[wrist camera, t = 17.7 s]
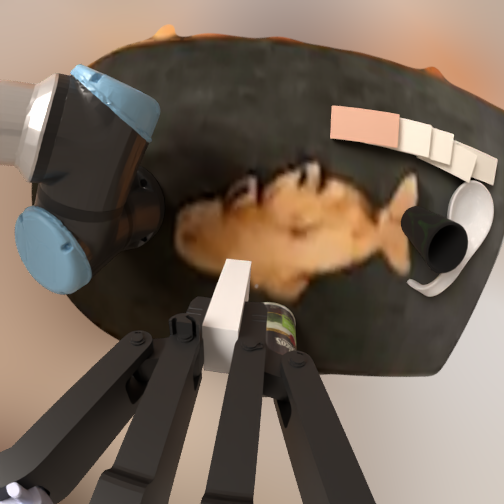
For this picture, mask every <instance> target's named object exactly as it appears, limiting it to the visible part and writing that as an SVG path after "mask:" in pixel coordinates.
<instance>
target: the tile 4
mask: <svg viewBox="0 0 504 504" xmlns="http://www.w3.org/2000/svg"><path fill="white" fill-rule="evenodd" d="M455 144H457V145H459V146H461V147H463V148H465V149H467V150H469V151H470V152H472V153H474V154H476V155H477V159H476V162H475V165H474V169H473V172H472V175H471V177H473V178H475V179H478V180H481V181H483V182H486V183H489V184H491V185H493V183H494V178H495V172H496V166H497V160H498V159H496V158H494V157H491V156H489V155H487V154H485V153H483V152H480V151H478V150H476V149H473V148H471V147H468V146H466V145H464V144H461V143H456V142H455Z"/></svg>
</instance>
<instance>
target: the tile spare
mask: <svg viewBox="0 0 504 504" xmlns="http://www.w3.org/2000/svg"><path fill="white" fill-rule="evenodd" d="M398 133H399V114H393V113H387V112H381V111H375V110H367V109H360V108H351V107H342V106H332V114H331V134H330V138H333V139H342V140H350V141H357V142H364V143H371V144H377V145H383V146H389V147H394V148H397V146H398Z"/></svg>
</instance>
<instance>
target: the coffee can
mask: <svg viewBox="0 0 504 504" xmlns="http://www.w3.org/2000/svg"><path fill="white" fill-rule="evenodd" d="M264 304H265V306H266V307H267V309H268V312H267V328H266V344H267V346H268V347H269V348H270V349H271V350H272V351H274V352H276V353H278V354H281V355H284V354H285V353H287V352H289V351H293V350H294V351H296V330H295V326H296V322H295V318H294V315H293V314H292V312H291V311H290V310H289V309H288V308H286V307H285V306H283V305H281V304H278V303H273V302H264ZM262 397H268V396H265V395H262Z"/></svg>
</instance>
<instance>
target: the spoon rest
mask: <svg viewBox="0 0 504 504" xmlns="http://www.w3.org/2000/svg"><path fill="white" fill-rule="evenodd" d="M493 215H494V206H493V200H492V197H491V195H490V193H489V191H488V190H487V188H486V187H485V186H484V185H483V184H482V183H480V182H478V181H474V180H470V181H469V183H468V182H465V183H463V184H462V185H460V186H459V187H458V188H457V189H456V190H455V192H454V193H453V195H452V197H451V199H450V202H449V206H448V211H447V219H450V220H452V221H454V222H456V223H459V224H460V225H461V226H463V227H464V229H465V230H466V233H467V236H468V248H467V252H466V255H465V257H464V259H463V260H462V262H461V263H460V264H459V265H458V266H457V267H456V268H455V269H454V270H452V271H450V272H447V273H441V274H439V276H438V277H437V278H436V279H435V280H434V281H432V282H431V283H429V284H426V285H421V284H420V283H418V282H417V281H415V280H412V279H409V280H408V281H407V283H408V284H409V285H410V286H411V287H412V288H414V289H416V290H417V291H419V292H421V293H422V294H424V295H425V296H428V297H432V296H435V295H438V294H439V293H441V292H442V291H444V290H445V289H446V288H447V287H448V286H449V285H450V284H451V283H452V282H453V281H454V280H455V279H456V278H457V276H458V275H459V273H460V272H461V270H462V269H463V268H464V266H465V265H466V263H467V262H468V261H469V259H470V258H471V257H472V255H473V254H474V253H475V252H476V250H477V249H478V248H479V246H480V245H481V244H482V242H483V240H484V239H485V238H486V236H487V234H488V232H489V230H490V228H491V225H492V221H493Z"/></svg>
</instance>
